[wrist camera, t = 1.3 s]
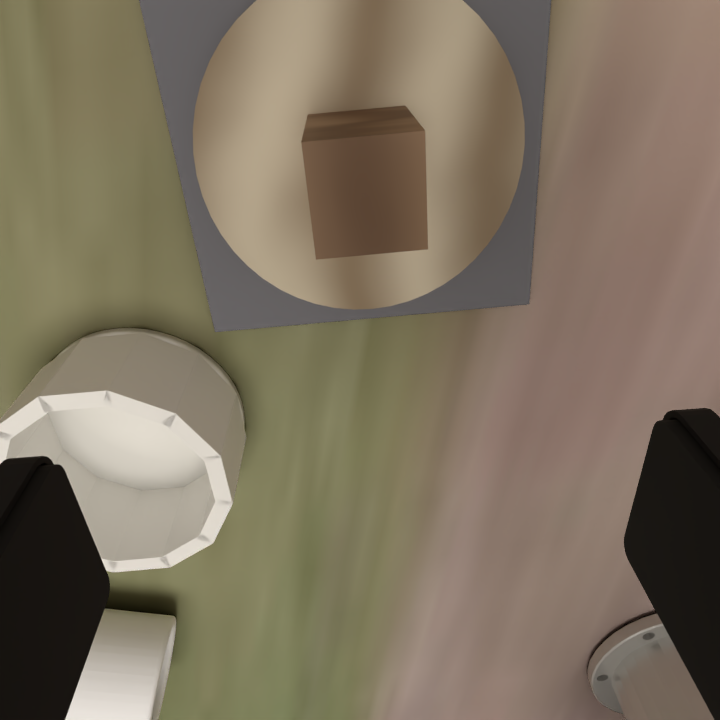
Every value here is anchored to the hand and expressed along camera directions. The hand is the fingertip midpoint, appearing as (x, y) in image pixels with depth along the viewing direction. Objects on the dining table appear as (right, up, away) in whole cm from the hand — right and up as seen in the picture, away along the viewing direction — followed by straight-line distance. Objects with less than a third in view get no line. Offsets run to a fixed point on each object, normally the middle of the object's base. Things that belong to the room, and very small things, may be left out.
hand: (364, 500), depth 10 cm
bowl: (-12, -1, +24) cm, 26 cm away
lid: (0, +11, +16) cm, 20 cm away
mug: (-19, -18, +33) cm, 42 cm away
